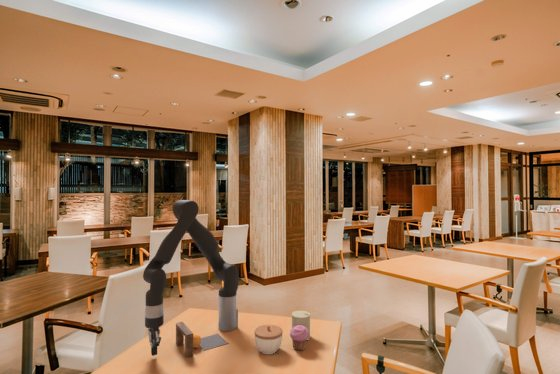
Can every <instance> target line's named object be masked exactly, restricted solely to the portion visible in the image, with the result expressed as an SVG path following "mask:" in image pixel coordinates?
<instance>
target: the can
mask: <svg viewBox="0 0 560 374" xmlns="http://www.w3.org/2000/svg"><path fill="white" fill-rule="evenodd" d="M297 325H302V326H305V327H306V328H307V329H308V331H309V337H308V338H307V339H309V338H310V339H311V313H310V312H309V311H306V310H294V311H292V312H291V329H292V328H293V327H295V326H297ZM310 339H309V340H310Z"/></svg>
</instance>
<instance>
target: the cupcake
mask: <svg viewBox="0 0 560 374" xmlns="http://www.w3.org/2000/svg"><path fill="white" fill-rule="evenodd" d="M289 336H290V338H291V341H292V348H293V349H294V350H297V349H298V351H304V349H305V346H306V343H307V341H306V340H307V338H308V337H309V331H308V329H307V328H306V327H305V326H302V325H297V326H295V327H293V328H292V327H291V329H290V331H289Z"/></svg>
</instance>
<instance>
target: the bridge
mask: <svg viewBox="0 0 560 374" xmlns="http://www.w3.org/2000/svg"><path fill="white" fill-rule="evenodd" d="M193 334H194V332H193V331H192V330H191V329H190V328H189V327H188V326H187V325H186V323H184V322H183V321H179V322H176V323H175V345H176V346H180V345H184V357H185V358H186V359H188V358H191V357H194V348H193Z"/></svg>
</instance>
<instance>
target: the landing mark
mask: <svg viewBox="0 0 560 374" xmlns="http://www.w3.org/2000/svg"><path fill="white" fill-rule="evenodd" d="M228 344H229V342H228V341H227V340H226V339H225V338H223V337H222V335H220V333H216V334H211V335H208V336H204V337H201V343H200V345H199V346H198V347H200V348H201V349H202V350H203V351H209V350H211V349H214V348H217V347H221V346H225V345H228Z"/></svg>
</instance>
